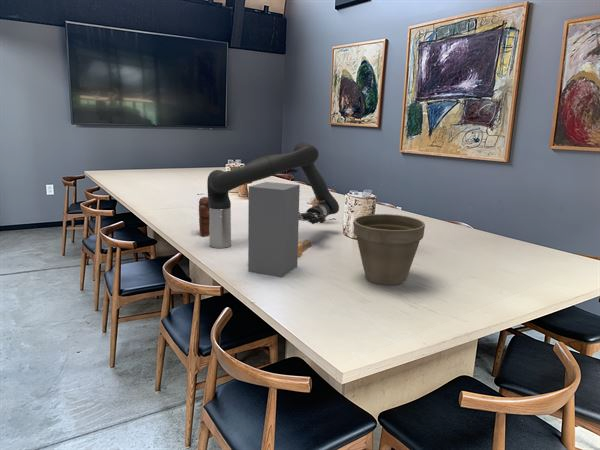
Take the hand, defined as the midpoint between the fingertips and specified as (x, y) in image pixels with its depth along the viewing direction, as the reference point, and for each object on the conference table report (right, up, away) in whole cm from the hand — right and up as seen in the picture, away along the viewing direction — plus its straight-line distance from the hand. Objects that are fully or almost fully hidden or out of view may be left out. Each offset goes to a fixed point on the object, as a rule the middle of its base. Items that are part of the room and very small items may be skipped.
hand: (303, 220), depth 201 cm
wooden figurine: (-47, -6, +25) cm, 53 cm away
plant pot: (+30, -22, -30) cm, 48 cm away
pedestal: (-12, -19, -23) cm, 32 cm away
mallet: (-2, -13, 0) cm, 14 cm away
